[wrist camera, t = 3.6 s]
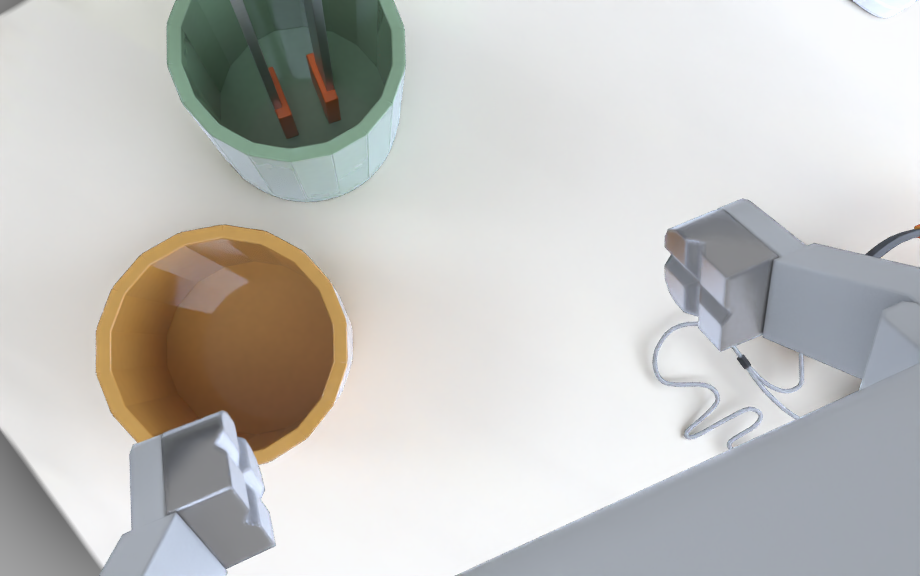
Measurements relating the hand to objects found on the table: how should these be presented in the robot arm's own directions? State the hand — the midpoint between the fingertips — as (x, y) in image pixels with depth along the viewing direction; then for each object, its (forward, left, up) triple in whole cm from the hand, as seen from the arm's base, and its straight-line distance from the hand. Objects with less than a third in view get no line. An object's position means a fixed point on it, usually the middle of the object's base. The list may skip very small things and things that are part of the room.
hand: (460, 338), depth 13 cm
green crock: (0, -14, -27) cm, 31 cm away
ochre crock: (+7, -3, -27) cm, 28 cm away
